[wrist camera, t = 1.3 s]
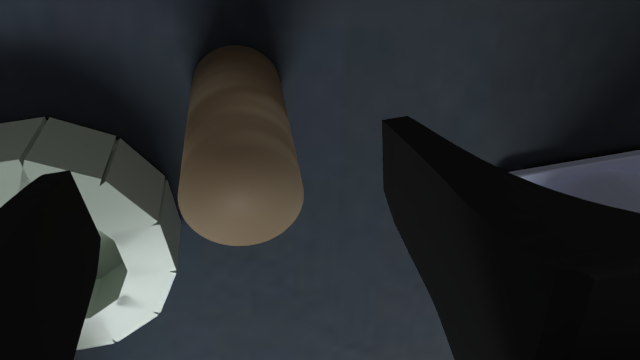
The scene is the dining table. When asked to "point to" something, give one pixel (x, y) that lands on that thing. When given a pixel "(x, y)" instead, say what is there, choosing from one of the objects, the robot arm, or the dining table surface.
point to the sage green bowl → (104, 217)
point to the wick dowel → (238, 151)
